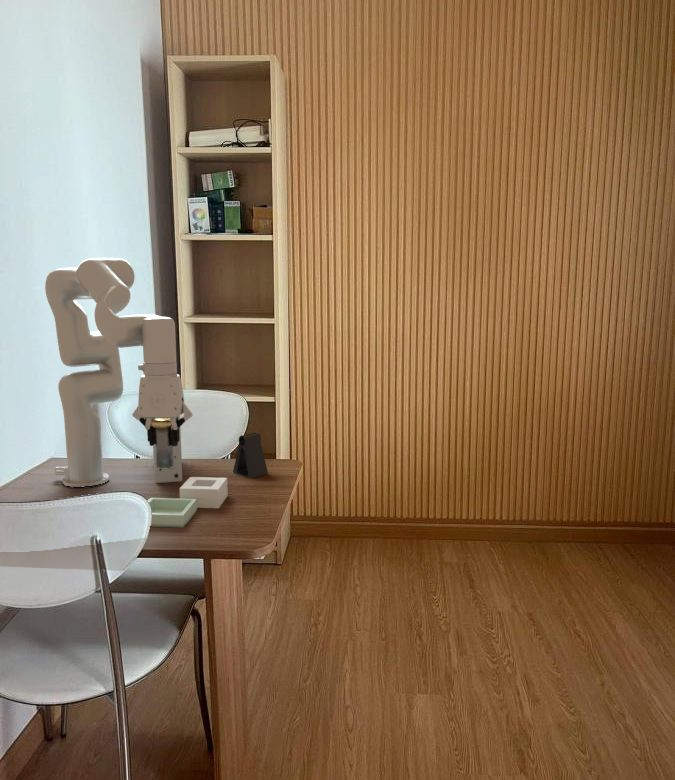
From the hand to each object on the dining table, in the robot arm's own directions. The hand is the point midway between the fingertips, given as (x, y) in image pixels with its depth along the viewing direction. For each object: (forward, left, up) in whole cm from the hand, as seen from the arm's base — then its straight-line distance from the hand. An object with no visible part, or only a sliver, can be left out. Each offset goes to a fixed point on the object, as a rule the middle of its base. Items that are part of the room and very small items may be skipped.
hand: (163, 443), depth 174 cm
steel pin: (0, 0, -5) cm, 5 cm away
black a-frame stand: (+13, +39, -19) cm, 45 cm away
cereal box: (-12, +39, -19) cm, 45 cm away
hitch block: (+6, +13, -19) cm, 24 cm away
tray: (0, 0, -19) cm, 19 cm away
